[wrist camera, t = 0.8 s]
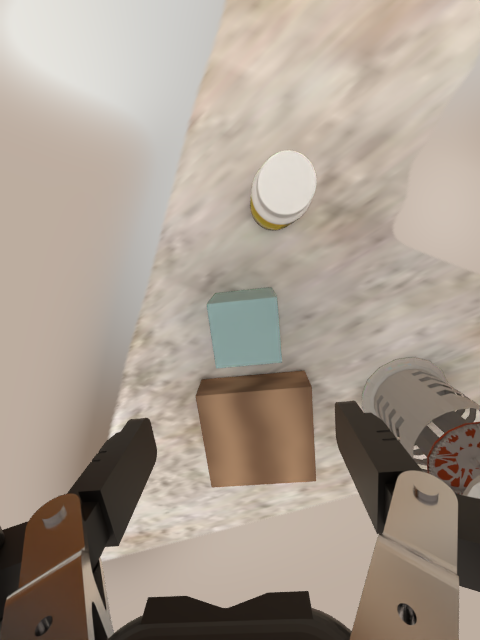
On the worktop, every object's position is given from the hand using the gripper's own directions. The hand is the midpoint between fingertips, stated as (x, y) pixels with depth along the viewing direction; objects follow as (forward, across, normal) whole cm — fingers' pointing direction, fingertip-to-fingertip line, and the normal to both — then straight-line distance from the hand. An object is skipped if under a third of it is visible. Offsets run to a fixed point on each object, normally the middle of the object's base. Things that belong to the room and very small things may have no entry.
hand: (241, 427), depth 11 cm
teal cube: (+18, 0, 0) cm, 18 cm away
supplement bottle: (+18, -4, -11) cm, 22 cm away
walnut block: (+18, 0, +13) cm, 22 cm away
